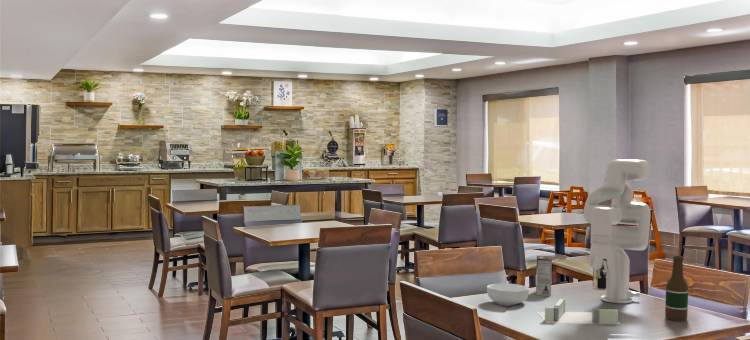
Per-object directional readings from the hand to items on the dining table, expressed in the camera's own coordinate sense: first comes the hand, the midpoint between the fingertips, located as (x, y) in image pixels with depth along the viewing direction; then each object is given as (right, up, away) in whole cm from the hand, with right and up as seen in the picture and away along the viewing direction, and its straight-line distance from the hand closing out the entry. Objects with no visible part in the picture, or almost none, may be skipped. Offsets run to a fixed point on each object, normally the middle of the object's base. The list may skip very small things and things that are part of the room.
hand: (599, 286), depth 270 cm
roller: (0, -1, 0) cm, 1 cm away
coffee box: (-12, -10, +41) cm, 43 cm away
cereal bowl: (-31, -11, +20) cm, 39 cm away
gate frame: (-9, -12, -3) cm, 15 cm away
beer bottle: (+29, -12, -1) cm, 32 cm away
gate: (-15, -11, -1) cm, 19 cm away
